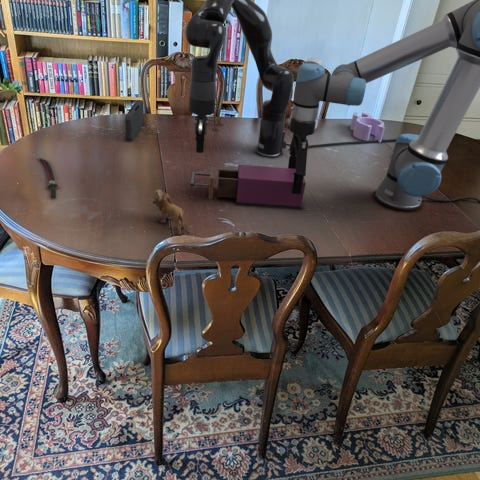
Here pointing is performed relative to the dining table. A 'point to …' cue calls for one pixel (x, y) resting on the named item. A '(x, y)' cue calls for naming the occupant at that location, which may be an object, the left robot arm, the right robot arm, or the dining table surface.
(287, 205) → the purple rectangular box
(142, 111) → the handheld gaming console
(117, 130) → the dining table surface
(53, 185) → the sword
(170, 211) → the lion figurine
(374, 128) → the clip
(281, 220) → the dining table surface
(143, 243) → the dining table surface
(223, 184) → the drawer
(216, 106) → the miniature windmill
